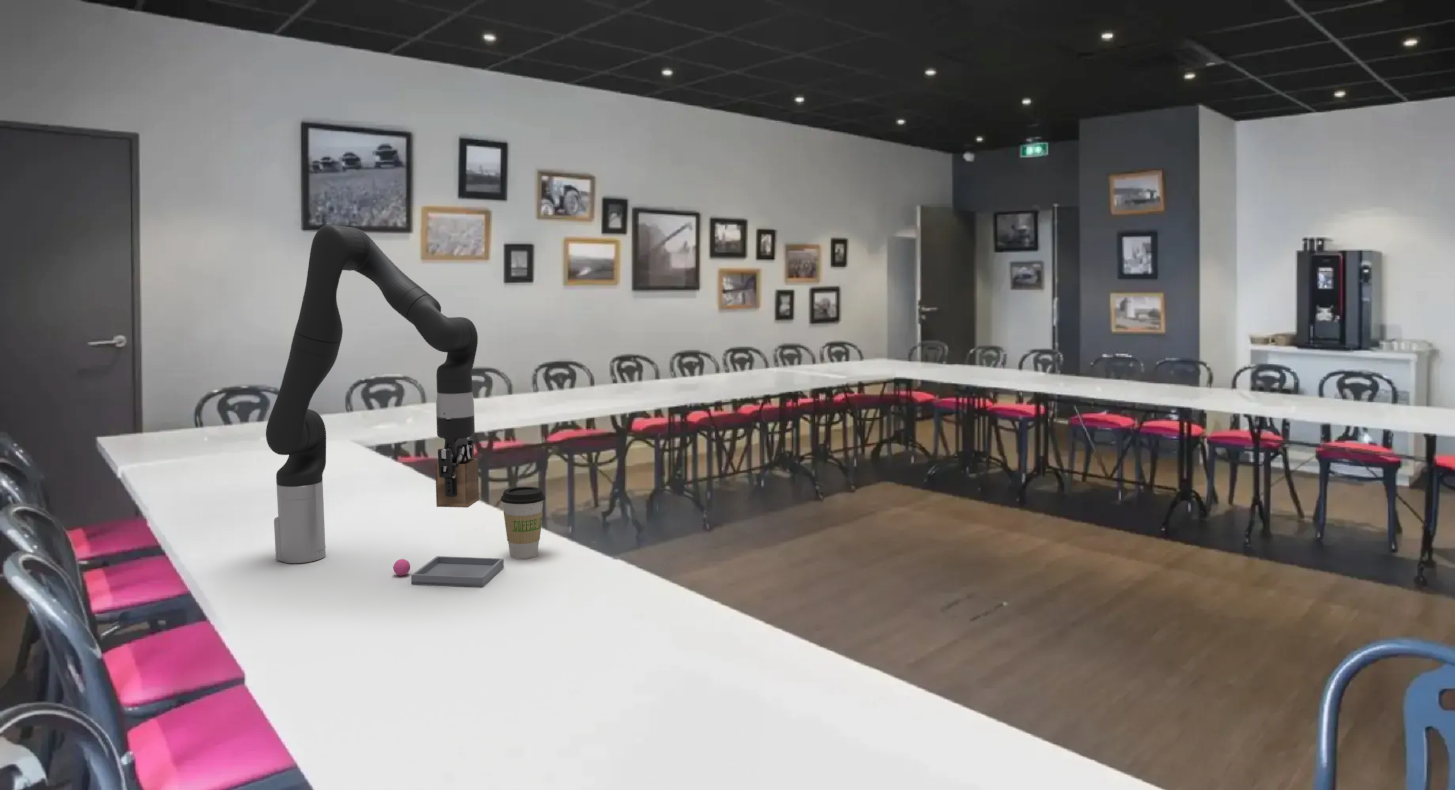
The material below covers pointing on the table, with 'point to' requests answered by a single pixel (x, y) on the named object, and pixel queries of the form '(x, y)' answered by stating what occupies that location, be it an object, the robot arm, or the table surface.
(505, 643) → the table surface
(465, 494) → the pen cup
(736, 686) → the table surface
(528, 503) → the coffee cup
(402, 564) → the ball
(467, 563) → the tray
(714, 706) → the table surface
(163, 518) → the table surface
